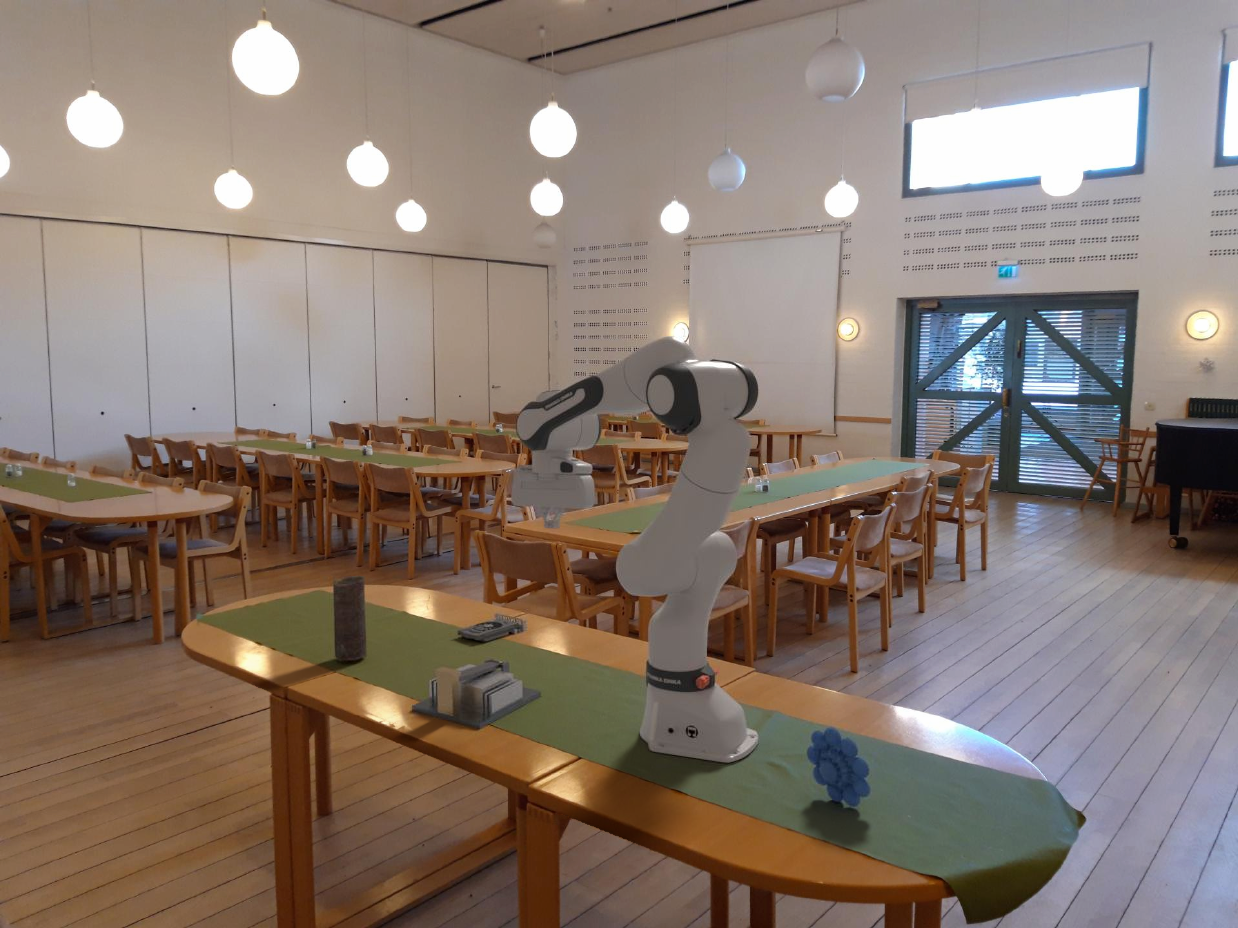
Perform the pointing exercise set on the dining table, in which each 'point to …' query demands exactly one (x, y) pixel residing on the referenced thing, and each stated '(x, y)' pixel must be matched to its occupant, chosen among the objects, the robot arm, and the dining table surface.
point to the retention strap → (479, 670)
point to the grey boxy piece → (474, 696)
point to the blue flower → (838, 766)
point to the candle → (349, 618)
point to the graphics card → (494, 628)
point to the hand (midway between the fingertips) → (551, 528)
